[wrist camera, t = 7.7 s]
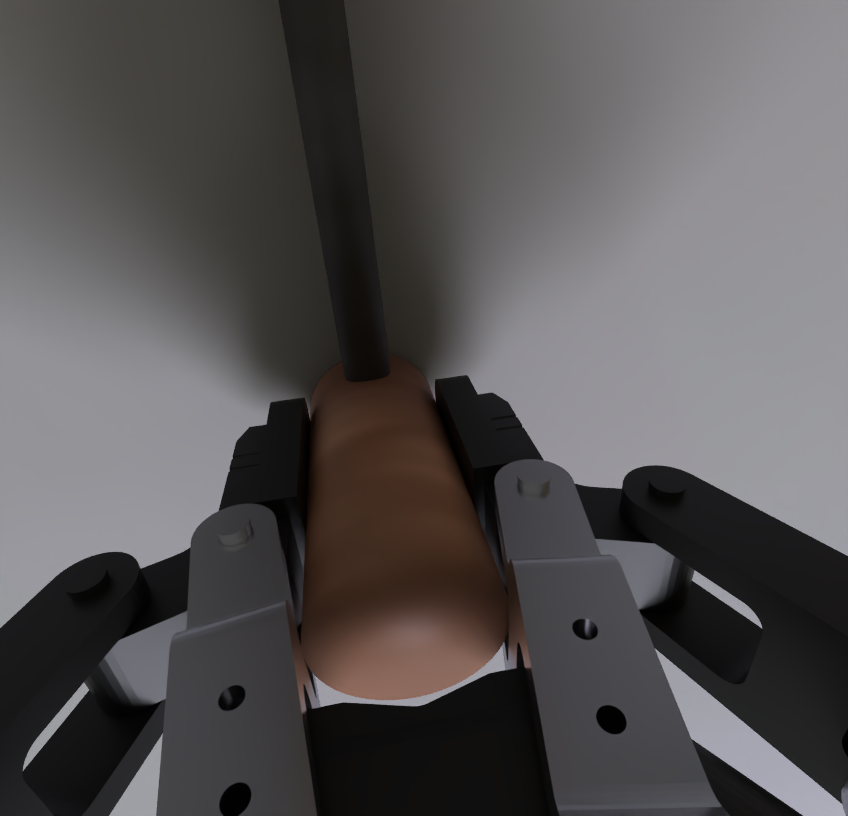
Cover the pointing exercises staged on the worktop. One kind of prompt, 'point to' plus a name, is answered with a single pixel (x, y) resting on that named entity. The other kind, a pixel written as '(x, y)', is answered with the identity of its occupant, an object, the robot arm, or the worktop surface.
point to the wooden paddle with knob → (377, 441)
